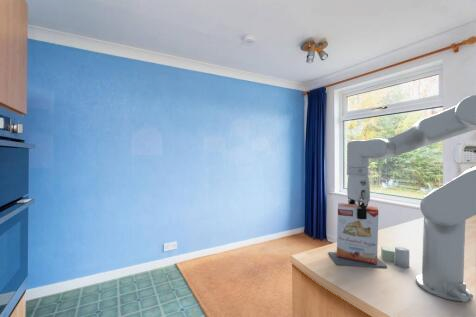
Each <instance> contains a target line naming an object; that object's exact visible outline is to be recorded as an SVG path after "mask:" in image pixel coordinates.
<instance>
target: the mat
mask: <svg viewBox="0 0 476 317" xmlns="http://www.w3.org/2000/svg"><path fill="white" fill-rule="evenodd" d="M328 255H329V257H330V258H331V260H333V262H334V263H335V265H336V266H346V267H361V268H362V267H363V268H378V269H379V268H381V269H387V268H388V267H387V265H386V264H385V263H384V262H383V261H382V260H380V258H378V257H377V264H373V263H368V262H363V261H358V260H353V259H348V258H343V257H338V256H337V251H335V252H333V251H328Z"/></svg>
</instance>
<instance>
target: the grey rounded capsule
mask: <svg viewBox="0 0 476 317" xmlns="http://www.w3.org/2000/svg"><path fill="white" fill-rule="evenodd" d="M394 251H395V262H394V265H395V266H397V267H399V268H404V269H408V268H410V249H408V248H406V247H402V246H396V247H394Z"/></svg>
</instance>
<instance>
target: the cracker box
mask: <svg viewBox="0 0 476 317" xmlns="http://www.w3.org/2000/svg"><path fill="white" fill-rule="evenodd" d="M357 208H358V204H357V205H353V204H348V203H343V202H342V203H341V202H338V204H337V225H336V226H337V229H336V231H337V232H336V234H337V235H336V252H337V256H338V257H343V258H348V259H353V260H358V261H363V262H368V263H373V264H377V258H378V243H379V240H378V239H379V209H378V207H377V206H371V205H368V206H367V218H366V219H357Z"/></svg>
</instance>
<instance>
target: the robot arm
mask: <svg viewBox="0 0 476 317" xmlns="http://www.w3.org/2000/svg"><path fill="white" fill-rule="evenodd" d="M475 130H476V93H475V94H472V95H471V94H470V95H469V96H466V97H465V98H462V100H460V101H459V102H458V103H457V105H454V106H452V107H450V108H447V109H445V110H442V111H440V112H437V113H435V114H433V115H430V116H428V117H425V118H422V119H420V120H418V121H417V122H415V123H414V124H413V125H412V126H411V127H410V128H408V129H406V130H404V131H403V132H400V133H397V134H395V135H393V136H390V137H388V138H372V139H371V138H370V139H366V140H363V139H358V140H357V139H356V140H355V139H353V140H349V141H348V143H347V146H346V176H347V188H346V190H347V191H346V192H347V193H346V194H347V199H348V201H347V202H348V203H347V204H353V205H358V208H357V219H366V218H367V206H369V202H370V201H371V188H370V179H369V171H370V170H369V166H370V165H369V164H370V162H369V161H370V159H372V160H387V159H392V158H395V157H398V156H400V155H403V154H407V153H409V152H412V151H414V150H418V149H421V148H423V147H428V146H430V145H431V146H432V145H433V144H436V143H437V144H438V143H439V142H443V141H445V140H448V139H452V138H454V137H457V136H460V135H463V134H466V133H469V132H472V131H475ZM419 204H420V205H419V206H420V207H419V208H420V212H421V215H422V216H423V226H422V228H423V232H422V233H423V234H422V265H421V268H422V269H421V270H422V271H421V274H418V275H416V277H415V282H416V284H417V285H418V286H419V287H420V288H421V289H422V290H424V291H426V292H428V293H430V294H432V295H435V296H437V297H439V298H442V299H445V300H446V299H447V300H449V301H454V302H463V303H464V302H465V303H466V302H468V301H469V300H471V299H473V298H474V295H473V294H472V293H471V292H470V290H468V288H467V283H465V282H464V280H465V279H464V276H465V273H464V272H465V270H464V269H465V243H466V241H465V240H466V222H467V221H466V220H468V219H470V218H473V217H475V216H476V166H474V167H471V168H467V169H466V170H465V171H463V173H461V174H460V175H457V177H454V178H453V179H452V180H450V181H448V182H447V183H445V184H443V185H441V186H440V187H438V188H434V189H432V190H430V191H429V192H427V193H426V194H425V195H424V196H423V197H422V199H421V201H420V203H419Z"/></svg>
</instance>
